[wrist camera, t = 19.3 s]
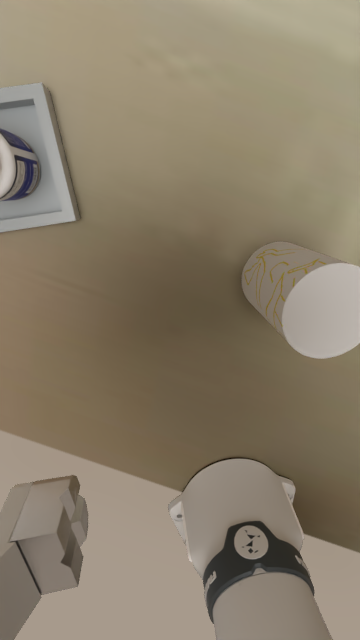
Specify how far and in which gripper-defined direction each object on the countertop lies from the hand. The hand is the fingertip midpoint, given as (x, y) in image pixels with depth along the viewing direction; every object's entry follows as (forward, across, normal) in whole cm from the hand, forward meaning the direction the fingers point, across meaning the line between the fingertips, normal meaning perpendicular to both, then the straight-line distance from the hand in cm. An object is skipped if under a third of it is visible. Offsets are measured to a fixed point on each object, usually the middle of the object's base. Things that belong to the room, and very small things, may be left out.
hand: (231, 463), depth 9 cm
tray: (+29, +13, -11) cm, 34 cm away
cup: (+29, -12, +4) cm, 32 cm away
